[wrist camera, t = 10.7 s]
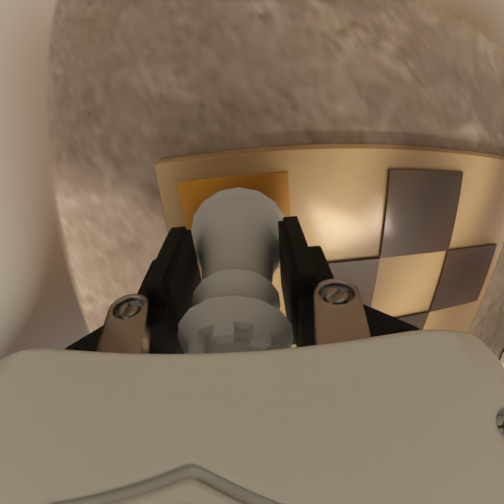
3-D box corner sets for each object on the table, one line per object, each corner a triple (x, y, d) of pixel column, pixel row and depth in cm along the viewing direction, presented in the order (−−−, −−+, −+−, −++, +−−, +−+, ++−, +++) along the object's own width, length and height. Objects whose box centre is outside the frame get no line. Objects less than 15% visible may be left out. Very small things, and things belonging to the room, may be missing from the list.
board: (509, 157, 13) (522, 163, 12) (454, 339, 22) (460, 349, 20) (160, 159, 14) (152, 166, 12) (214, 376, 22) (213, 389, 21)
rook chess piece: (304, 230, 14) (352, 362, 7) (239, 282, 16) (235, 420, 9) (239, 164, 12) (231, 264, 6) (174, 228, 14) (119, 359, 7)
